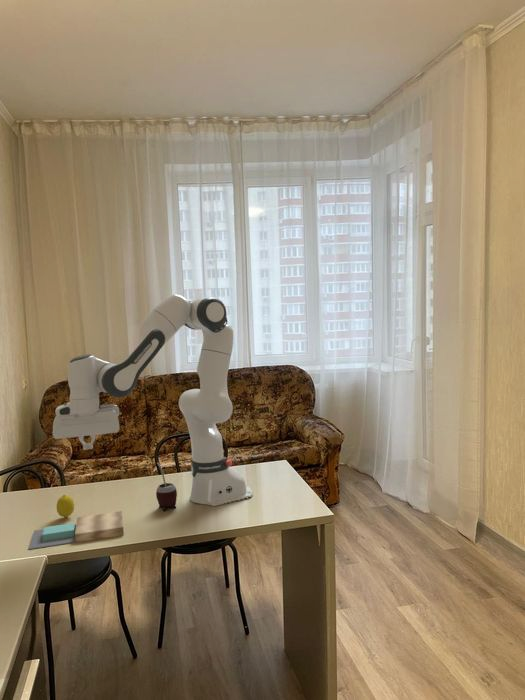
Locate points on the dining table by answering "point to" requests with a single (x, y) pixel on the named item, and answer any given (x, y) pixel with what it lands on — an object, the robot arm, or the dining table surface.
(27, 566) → the dining table surface
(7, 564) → the dining table surface
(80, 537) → the deck
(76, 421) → the robot arm
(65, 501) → the lemon
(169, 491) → the mate gourd
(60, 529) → the turquoise sponge
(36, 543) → the mat
